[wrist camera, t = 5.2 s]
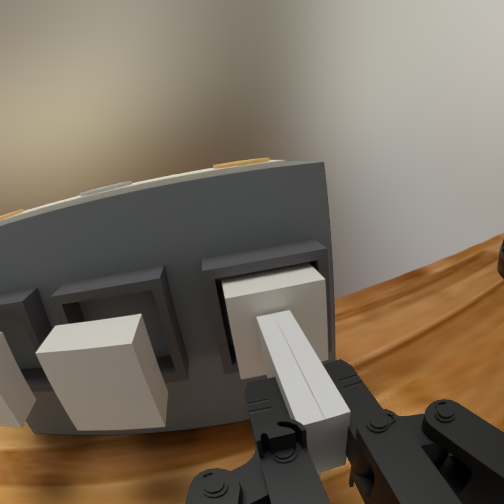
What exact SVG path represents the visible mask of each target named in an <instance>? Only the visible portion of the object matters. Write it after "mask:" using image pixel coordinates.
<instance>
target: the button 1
mask: <svg viewBox="0 0 504 504" xmlns="http://www.w3.org/2000/svg"><path fill="white" fill-rule="evenodd" d="M35 402H36V398H35V396H34V395H33V393H32V391H31V389H30V387H29V386H28V384H27V382H26V380H25V378H24V376H23V374H22V372H21V371H20V369H19V367H18V365H17V363H16V361H15V359H14V356H13V354H12V352H11V350H10V348H9V346H8V344H7V341H6V339H5V337H4V335H3V332H0V425H1V426H10V427H20V428H22V427H23V425H24V423H25V421H26V419H27V417H28V415H29V413H30V411H31V409H32V407H33V405H34V403H35Z"/></svg>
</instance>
